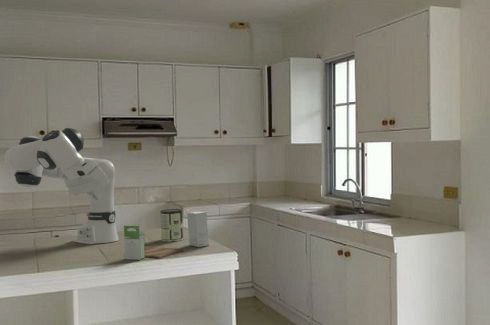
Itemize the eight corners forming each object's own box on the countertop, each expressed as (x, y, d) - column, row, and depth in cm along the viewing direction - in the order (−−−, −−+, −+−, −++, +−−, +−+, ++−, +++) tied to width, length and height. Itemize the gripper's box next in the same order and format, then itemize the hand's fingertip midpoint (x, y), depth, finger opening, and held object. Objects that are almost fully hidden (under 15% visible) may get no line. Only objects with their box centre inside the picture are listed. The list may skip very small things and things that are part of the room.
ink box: (145, 258, 209) (144, 224, 209) (140, 260, 205) (138, 225, 205) (129, 257, 211) (128, 224, 211) (124, 259, 207) (123, 225, 207)
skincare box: (209, 245, 232) (208, 212, 231) (196, 247, 228) (195, 213, 228) (199, 243, 239) (198, 210, 238) (187, 245, 235) (186, 211, 235)
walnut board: (124, 255, 216) (124, 253, 216) (149, 248, 230) (149, 246, 230) (159, 258, 208) (159, 256, 208) (183, 251, 222) (183, 249, 221)
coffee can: (171, 237, 257) (170, 208, 257) (187, 238, 252) (186, 209, 251) (156, 240, 248) (155, 210, 248) (173, 242, 243) (172, 211, 242)
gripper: (55, 179, 199) (77, 208, 204) (87, 170, 186) (109, 200, 191) (66, 169, 203) (87, 197, 208) (98, 159, 191) (120, 189, 196)
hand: (98, 199), depth 200 cm, fingers closed
